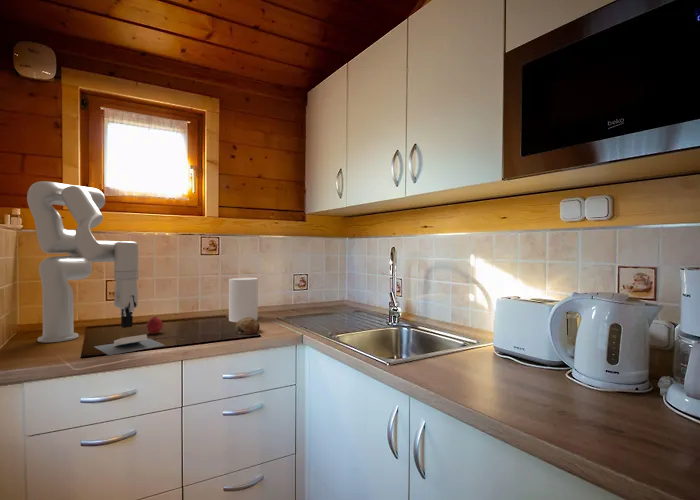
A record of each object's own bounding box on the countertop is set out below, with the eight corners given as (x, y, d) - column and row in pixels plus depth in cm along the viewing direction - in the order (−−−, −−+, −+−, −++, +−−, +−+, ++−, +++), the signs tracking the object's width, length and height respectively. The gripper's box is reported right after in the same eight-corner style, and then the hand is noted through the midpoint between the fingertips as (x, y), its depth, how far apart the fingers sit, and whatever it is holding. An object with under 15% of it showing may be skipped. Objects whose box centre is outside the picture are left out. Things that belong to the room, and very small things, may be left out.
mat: (93, 348, 139) (93, 346, 139) (147, 339, 152) (147, 337, 152) (108, 357, 128) (108, 355, 128) (165, 346, 141) (165, 345, 141)
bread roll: (233, 341, 165) (228, 325, 162) (244, 326, 174) (240, 311, 171) (255, 342, 163) (251, 327, 159) (265, 327, 172) (261, 312, 168)
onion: (156, 336, 156) (156, 316, 156) (143, 336, 158) (143, 316, 158) (165, 333, 162) (165, 314, 162) (153, 333, 163) (153, 313, 163)
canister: (234, 316, 201) (234, 277, 201) (260, 317, 200) (260, 277, 200) (224, 322, 187) (224, 279, 187) (253, 322, 187) (253, 280, 187)
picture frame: (113, 340, 140) (121, 338, 134) (138, 336, 145) (146, 334, 140) (114, 346, 139) (122, 344, 134) (138, 342, 145) (147, 340, 140)
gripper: (107, 275, 144) (108, 325, 144) (122, 277, 134) (123, 331, 134) (130, 274, 150) (130, 322, 150) (146, 276, 140) (146, 328, 140)
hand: (126, 326), depth 142 cm, fingers closed
